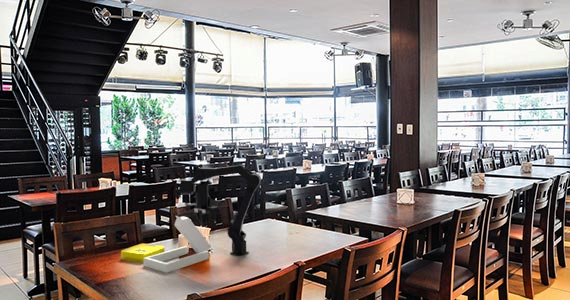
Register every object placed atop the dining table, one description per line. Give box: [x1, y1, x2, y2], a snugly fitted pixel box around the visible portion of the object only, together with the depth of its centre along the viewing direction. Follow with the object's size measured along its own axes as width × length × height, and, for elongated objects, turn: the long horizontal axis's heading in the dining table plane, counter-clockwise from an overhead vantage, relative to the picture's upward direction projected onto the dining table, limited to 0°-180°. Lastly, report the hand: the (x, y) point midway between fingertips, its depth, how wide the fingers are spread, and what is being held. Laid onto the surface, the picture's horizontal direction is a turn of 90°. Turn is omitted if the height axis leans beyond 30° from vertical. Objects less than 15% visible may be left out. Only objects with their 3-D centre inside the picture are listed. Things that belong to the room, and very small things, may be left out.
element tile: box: [120, 243, 165, 264], centre depth 207 cm, size 15×15×5 cm
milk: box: [173, 215, 212, 254], centre depth 206 cm, size 6×6×22 cm
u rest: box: [143, 245, 210, 274], centre depth 197 cm, size 16×24×4 cm
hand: (203, 226), depth 209 cm, fingers closed
